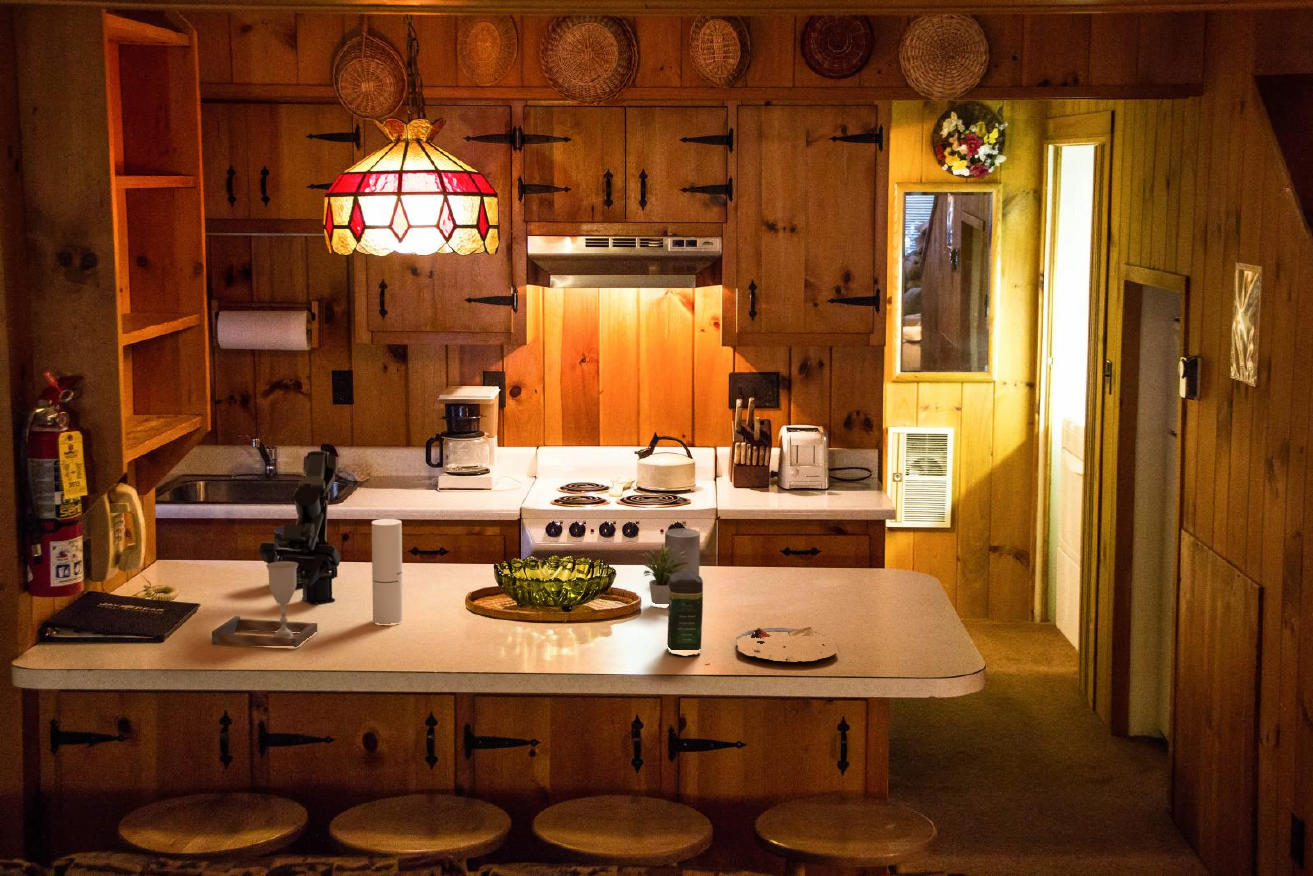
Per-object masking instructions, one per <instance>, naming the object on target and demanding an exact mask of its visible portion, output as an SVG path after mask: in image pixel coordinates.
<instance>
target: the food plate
mask: <svg viewBox="0 0 1313 876" xmlns="http://www.w3.org/2000/svg"><path fill="white" fill-rule="evenodd" d="M754 632H755V634H754ZM766 632H788V634H789V636H796V635H798V636H813V632H815V633H818V634H819V635H820V634H821V635H822V636H826V634H822V633H819V632H817V631H814V630H813V628H812V627H811V626H807V627H804V628H803V627H802V628H787V627H786V628H785V627H766V628H760V627H756V629H751V630H748V631H746V632H744V633H741V634H740V635H738V636H737V637H736V639H735V641H737V639H739V638H741V637H742V636H747V635H751V634H752V635H751V638H755V637H756V638H760V639H761V638H763V637H770V636H772V635H769V634H767V633H766ZM763 639H764V638H763ZM757 643H760V644H763V643H765V642H764V641H757ZM822 645H823V646H825V645H824V644H822ZM836 645H837V646H838V644H837V643H836ZM737 650H740V649H738V648H737ZM737 650H736V651H737ZM821 653H822V652H821Z"/></svg>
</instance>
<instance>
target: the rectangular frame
mask: <svg viewBox="0 0 1313 876" xmlns="http://www.w3.org/2000/svg"><path fill="white" fill-rule="evenodd" d="M281 625H282V624H281V621H280V620H270V619H269V620H267V619H254V618H253V619H252V618H241V616H238V615H236V616H234V617H232V618H231V619H229V620H227V621H226V622H224V623H223V624H221V625H219V626H218V627H217V628H215V629H213V630H212V631H211V644H212V645H214V646H215V645H216V646H217V645H218V646H231V647H232V646H234V647H247V646H294V647H297V646H299V645H300V644H301V643H302V642H303V641H305V640H306V639H307V638H309V637H310V636H312V635H313V634H314V633H315V632H317V633H318V623H317V622H303V621H288V620H287V621H286V628H287V629H289V630H291V631H292V632H300V633H296V635H293V637H277V636H275V635H261V634H260V635H258V634H242V633H241V634H240V633H236V632H238V631H249V630H258V631H257V632H265V631H278V630H279V629H280V628H281Z"/></svg>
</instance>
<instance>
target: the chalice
mask: <svg viewBox="0 0 1313 876" xmlns="http://www.w3.org/2000/svg"><path fill="white" fill-rule="evenodd" d="M297 566H298V563H296V562H289V561H282V562H273V563H269V564H268V563H266V565H265V567H266V568H267V570H268V587H269V590H270V592H271V595H272V596H273V598H274V600H275V602H276V603H277V604H280V611H279V614H280V619H279V621H281V624H282V625H281V628H280V629H279V630H278V631H277V632H275V634H274V636H277V637H294V633H292V631H291V630H289V629H287V628H286V621H288V618H287V617H286V616H287V612H288V611H287V610H286V605H287V604H288V603H290V601H291V600H292V597H293V595H294V593H295V591H296V590H295V588H296V568H297Z"/></svg>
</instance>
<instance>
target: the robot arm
mask: <svg viewBox="0 0 1313 876" xmlns="http://www.w3.org/2000/svg"><path fill="white" fill-rule="evenodd" d="M302 463H303V465H302V466H303V468H302V469H303V470H302V471H303V473H304V475H305V477H304V478H303V479H301V480H299V482H298V486H297V488H295V489H294V492H293V497H292V500H293V504H294V505H295V511H296V515H297V518H296V523H295V524H283V527H284V528H283V534H282V538H283V539H286V542H285V543H286V545H289V548H280V547H279V545H278V543H277V542H274V541H262V542H260V544H259V545H258V548H257V551H258V553H259V555H260V556H261V559H262V560H263V562H264V563H265V564H269V563H273V562H280V561H281V560H282V556H284V557H299V558H300V578H301V579H304V583H303V589H302V597H301V600H302V601H304V602H307V603H309V605H317V604H318V605H319V604H325V603H330V602H335V601H336V598H334V597H333V579H335V578H338V567H339V566H340V562H341V554H340V553H339V551H338V549H337V547H336V546H335V544H330V543H329V542H328V541H327V535H328V534H327V529H328V507H329V506H328V504H329V503H328V502H329V500H330V498H331V493H330V491H329V490H330V489H331V487H333V485H334V484H335V482H336V479H335V478H336V475H338V471H339V467H338V464H339V463H338V460H337V457H336V456H334V455H332V454H329V452H328V451H326V450H313V451H312V450H311V451H308V452H307V455H305V456H304V457H303V462H302Z"/></svg>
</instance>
